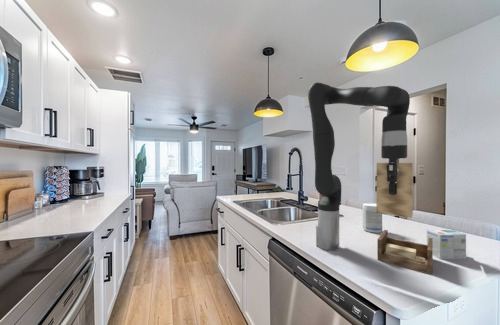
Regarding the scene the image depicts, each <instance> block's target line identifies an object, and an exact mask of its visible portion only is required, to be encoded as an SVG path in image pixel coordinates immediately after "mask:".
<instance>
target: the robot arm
mask: <svg viewBox="0 0 500 325" xmlns="http://www.w3.org/2000/svg"><path fill="white" fill-rule="evenodd" d="M307 99H308V105H309V110H310V117H311V127H312V141H313V150H314V154H313V155H314V162H315V163H314V164H315V166H314V168H315V169H314V187H315V190H316V191H317V193H318V194H319V195H321V196H320V197H321V198H320V200H319V201H318V203H317V224H316V226H315V236H316V237H315V238H316V239H315V246H316V247H318V248H320V249H321V250H324V251H332V252H333V251H334V252H335V251H338V250H339V249H340V205H341V204H342V181H341V179H340V178H339V177H338V175H336V174H333V171H332V160H333V155H334V152H335V147H336V146H335V145H336V144H335V142H336V141H335V130H334V127H333V126H332V123H331V121H330V119H329V117H328V115H327V112H326V105H335V104H340V105H341V104H342V105H345V104H346V105H352V106H362V107H373V106H377V107H384V108H387V109H386V110H387V111H386V116H384V117H383V119H382V125H381V126H382V128H381V129H382V130H381V132H382V133H381V141H380V143H381V146H380V148H381V149H380V150H381V152H380V153H381V158H382V159H385V160H386V159H388V163H389V165H387V166H386V167H387V182H388V183H389V194H392V195H396V194H397V182H398V181H397V177H399V169H397V163H400V159H407V158H408V134H407V133H408V132H407V116H408V114H409V110H410V103H411V102H410V100H411V99H410V94H409V92H408V91H407V90H406V89H403V88H402V87H399V86H396V85H384V86H383V85H382V86H375V87H373V86H357V87H356V86H354V87H349V88H338V87H335V86H331V85H329V84H325V83H323V82H314V83H312V84H311V86H310V87H309V89H308V91H307ZM396 172H397V174H396ZM390 177H394V178H390Z"/></svg>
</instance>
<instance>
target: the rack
mask: <svg viewBox="0 0 500 325" xmlns="http://www.w3.org/2000/svg"><path fill="white" fill-rule="evenodd" d="M388 232H389V231H388V230H387V229H384V230H382V232H381V233H380V235H379V236H378V237H377V241H376V242H377V249H376V250H377V260H378V261H380V262H384V263H388V264H391V265H394V266H398V267H402V268H406V269H410V270H414V271H416V272H421V273H425V274H429V275H433V257H434V256H433V238H428V245H427V244H423V243H419V242H414V241H409V240H404V239H399V238H393V237H389V236H388V234H389V233H388ZM387 243H388V244H393V245H398V246H402V247H407V248H412V249H416V256H417V257H422V258H425V264H424V263H419V262H415V261H411V260H407V259H403V258H399V257H395V256H391V255H387V254H384V252H385V250H386V245H387Z"/></svg>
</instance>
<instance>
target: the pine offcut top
mask: <svg viewBox="0 0 500 325" xmlns="http://www.w3.org/2000/svg"><path fill="white" fill-rule="evenodd" d="M386 253H390V254H394V255H398V256H403V257H407V258H411V259H415V260H416V249H412V248H407V247H402V246H398V245H393V244H388V243H387V245H386Z"/></svg>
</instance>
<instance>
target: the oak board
mask: <svg viewBox="0 0 500 325" xmlns="http://www.w3.org/2000/svg"><path fill="white" fill-rule="evenodd" d="M387 165H389V162H376V203H375V204H376V213H380V214H382V215H389V216H396V217H403V218H408V219H409V218H410V219H411V218H413V206H414V205H413V201H414V200H413V198H414V197H413V195H414V194H413V192H414V191H413V188H414V187H413V186H414V183H413V181H414V180H413V179H414V176H413V175H414V174H413V173H414V171H413V170H414V169H413V167H414V163H413V162H399V163H397V169H399V177H397V181H398V182H397V194H396V195H392V194H389V183H388V182H387V167H386V166H387ZM396 174H397V172H396ZM390 178H394V177H390Z"/></svg>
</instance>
